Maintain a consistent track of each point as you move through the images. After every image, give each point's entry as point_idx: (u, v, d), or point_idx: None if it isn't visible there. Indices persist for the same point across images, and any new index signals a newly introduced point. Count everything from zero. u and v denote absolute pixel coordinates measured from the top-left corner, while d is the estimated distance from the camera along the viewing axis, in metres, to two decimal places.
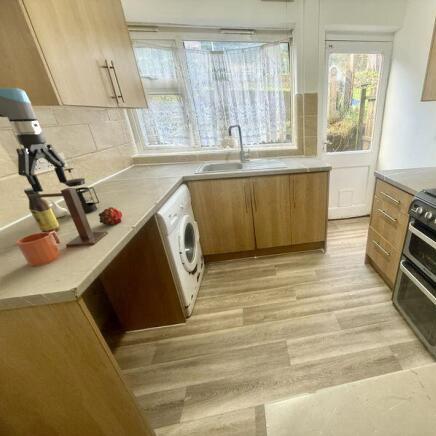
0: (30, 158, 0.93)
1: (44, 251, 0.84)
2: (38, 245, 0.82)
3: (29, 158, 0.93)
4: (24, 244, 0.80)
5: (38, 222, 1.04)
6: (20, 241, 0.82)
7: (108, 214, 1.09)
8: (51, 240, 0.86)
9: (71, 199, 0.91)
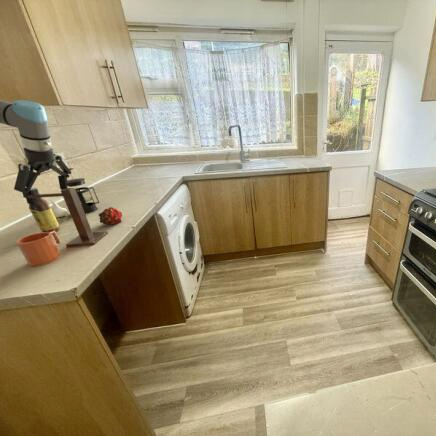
0: (31, 172, 0.89)
1: (44, 251, 0.84)
2: (38, 245, 0.82)
3: (30, 172, 0.89)
4: (24, 244, 0.80)
5: (38, 222, 1.04)
6: (20, 241, 0.82)
7: (108, 214, 1.09)
8: (51, 240, 0.86)
9: (71, 199, 0.91)
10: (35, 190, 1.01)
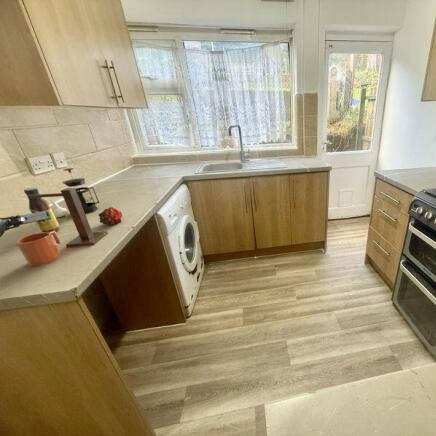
0: None
1: (44, 251, 0.84)
2: (38, 245, 0.82)
3: None
4: (24, 244, 0.80)
5: (38, 222, 1.04)
6: (20, 241, 0.82)
7: (108, 214, 1.09)
8: (51, 240, 0.86)
9: (71, 199, 0.91)
10: (35, 190, 1.01)
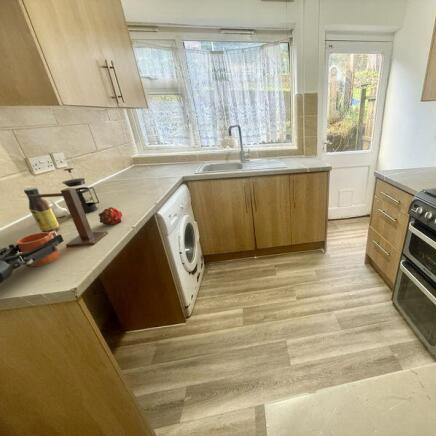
0: None
1: None
2: (38, 245, 0.82)
3: None
4: (24, 244, 0.80)
5: (38, 222, 1.04)
6: (20, 241, 0.82)
7: (108, 214, 1.09)
8: None
9: (71, 199, 0.91)
10: (35, 190, 1.01)
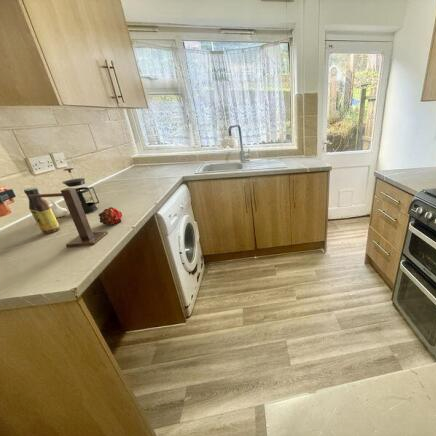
0: None
1: None
2: None
3: None
4: None
5: (38, 222, 1.04)
6: None
7: (108, 214, 1.09)
8: None
9: (71, 199, 0.91)
10: (35, 190, 1.01)
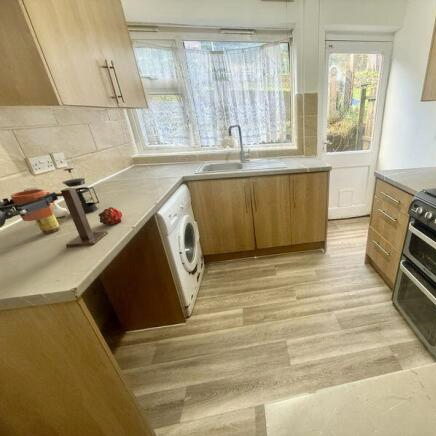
0: None
1: None
2: (32, 199, 0.83)
3: None
4: (18, 197, 0.81)
5: (38, 222, 1.04)
6: (14, 195, 0.83)
7: (108, 214, 1.09)
8: None
9: (71, 199, 0.91)
10: None
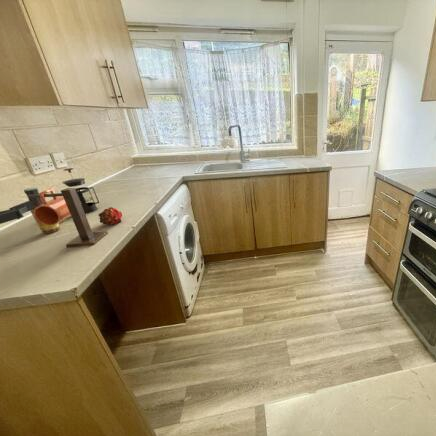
0: None
1: (67, 215, 0.96)
2: (62, 219, 0.94)
3: None
4: None
5: (38, 222, 1.04)
6: (39, 218, 0.92)
7: (108, 214, 1.09)
8: (60, 209, 0.93)
9: (71, 199, 0.91)
10: (35, 190, 1.01)
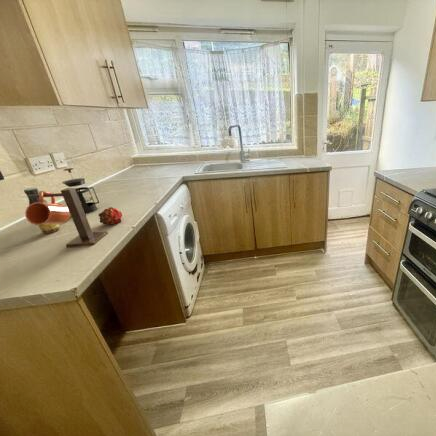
0: None
1: (59, 219, 0.92)
2: (51, 220, 0.90)
3: None
4: (40, 224, 0.88)
5: None
6: (29, 217, 0.88)
7: (108, 214, 1.09)
8: (54, 209, 0.90)
9: (71, 199, 0.91)
10: (35, 190, 1.01)
